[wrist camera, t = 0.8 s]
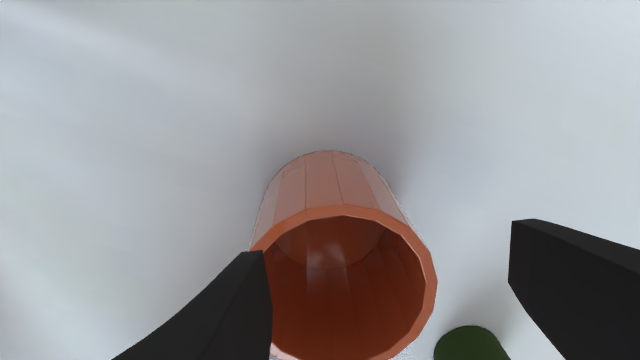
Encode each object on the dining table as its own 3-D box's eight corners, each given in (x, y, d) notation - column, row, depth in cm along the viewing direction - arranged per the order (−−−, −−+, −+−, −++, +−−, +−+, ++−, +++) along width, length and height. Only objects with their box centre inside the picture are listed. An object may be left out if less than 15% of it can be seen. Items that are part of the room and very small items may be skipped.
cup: (374, 278, 22) (407, 384, 15) (252, 259, 22) (225, 360, 14) (408, 164, 20) (464, 225, 13) (272, 138, 19) (253, 186, 12)
